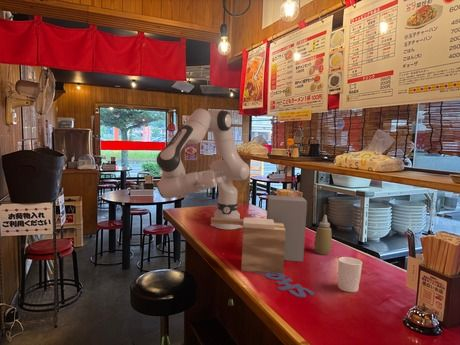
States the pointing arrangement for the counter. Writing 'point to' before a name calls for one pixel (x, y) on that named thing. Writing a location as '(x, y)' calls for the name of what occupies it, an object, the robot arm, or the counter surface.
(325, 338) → the counter surface
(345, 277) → the white cup
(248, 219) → the lid flap
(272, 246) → the box
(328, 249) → the squeeze bottle
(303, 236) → the carton
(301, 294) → the signage
